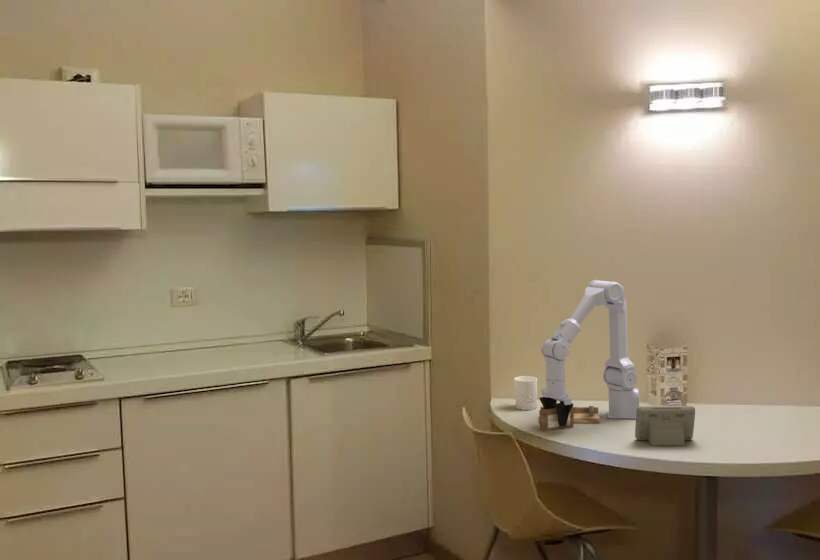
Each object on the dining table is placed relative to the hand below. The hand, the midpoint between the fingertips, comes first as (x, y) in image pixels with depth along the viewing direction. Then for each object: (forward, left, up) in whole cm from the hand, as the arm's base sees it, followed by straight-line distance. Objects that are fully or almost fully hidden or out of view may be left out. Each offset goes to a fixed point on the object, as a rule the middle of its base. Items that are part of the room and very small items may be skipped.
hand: (556, 422), depth 242 cm
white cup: (+10, -24, -2) cm, 26 cm away
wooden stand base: (-4, -10, -2) cm, 10 cm away
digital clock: (-30, +12, -2) cm, 32 cm away
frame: (0, 0, -2) cm, 2 cm away
